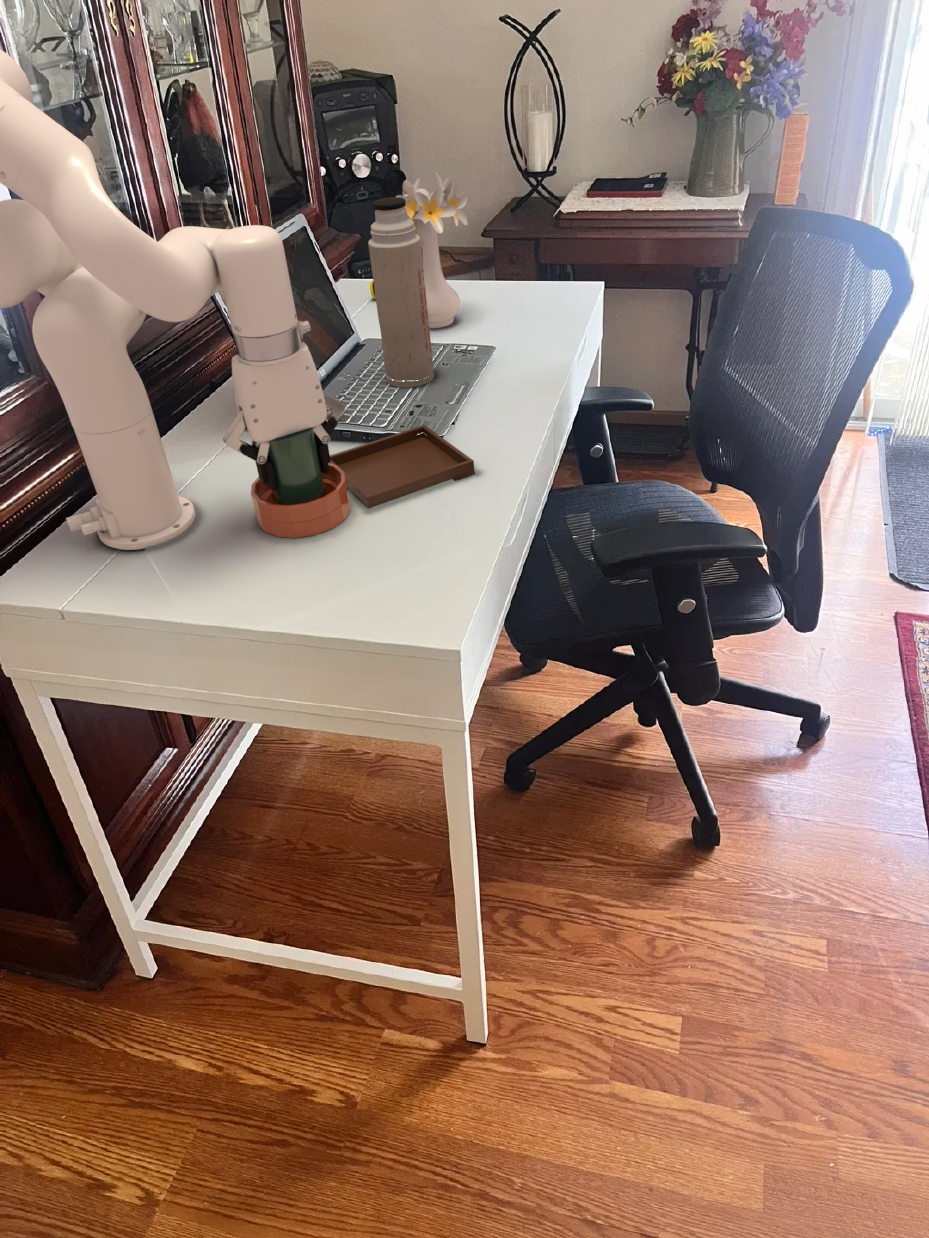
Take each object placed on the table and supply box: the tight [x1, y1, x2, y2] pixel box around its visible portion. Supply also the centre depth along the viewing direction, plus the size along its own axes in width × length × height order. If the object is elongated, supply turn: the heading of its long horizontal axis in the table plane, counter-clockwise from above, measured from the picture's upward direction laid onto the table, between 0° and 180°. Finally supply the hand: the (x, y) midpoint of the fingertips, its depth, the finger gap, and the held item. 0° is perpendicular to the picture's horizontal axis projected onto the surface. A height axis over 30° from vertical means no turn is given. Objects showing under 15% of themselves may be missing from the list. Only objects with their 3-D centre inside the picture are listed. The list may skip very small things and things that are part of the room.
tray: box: [330, 424, 476, 509], centre depth 130 cm, size 16×14×2 cm
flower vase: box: [395, 171, 469, 329], centre depth 168 cm, size 13×18×25 cm
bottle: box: [267, 427, 326, 505], centre depth 118 cm, size 6×6×17 cm
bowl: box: [250, 463, 351, 539], centre depth 122 cm, size 12×12×5 cm
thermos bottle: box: [367, 196, 435, 389], centre depth 148 cm, size 8×8×28 cm
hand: (296, 476), depth 120 cm, fingers closed on bottle, 6 cm apart
